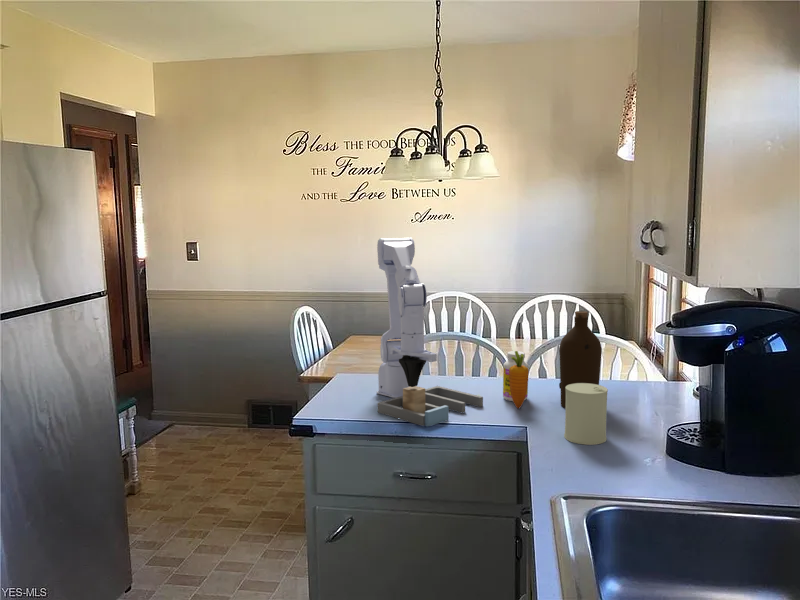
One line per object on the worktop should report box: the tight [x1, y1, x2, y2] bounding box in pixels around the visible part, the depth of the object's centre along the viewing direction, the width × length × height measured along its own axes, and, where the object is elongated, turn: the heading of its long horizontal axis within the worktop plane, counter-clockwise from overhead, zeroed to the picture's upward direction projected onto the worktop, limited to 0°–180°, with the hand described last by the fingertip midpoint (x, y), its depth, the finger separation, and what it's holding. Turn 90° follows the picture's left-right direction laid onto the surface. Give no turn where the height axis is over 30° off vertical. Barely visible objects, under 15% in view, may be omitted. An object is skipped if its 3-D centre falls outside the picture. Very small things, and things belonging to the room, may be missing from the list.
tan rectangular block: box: [403, 385, 426, 414], centre depth 166 cm, size 4×4×7 cm
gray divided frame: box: [377, 385, 484, 427], centre depth 171 cm, size 17×23×4 cm
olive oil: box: [558, 310, 603, 409], centre depth 171 cm, size 11×11×25 cm
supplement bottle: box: [502, 350, 529, 402], centre depth 179 cm, size 7×7×13 cm
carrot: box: [509, 350, 530, 410], centre depth 170 cm, size 5×5×15 cm
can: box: [563, 383, 609, 446], centre depth 147 cm, size 9×9×12 cm
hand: (412, 385), depth 165 cm, fingers closed
